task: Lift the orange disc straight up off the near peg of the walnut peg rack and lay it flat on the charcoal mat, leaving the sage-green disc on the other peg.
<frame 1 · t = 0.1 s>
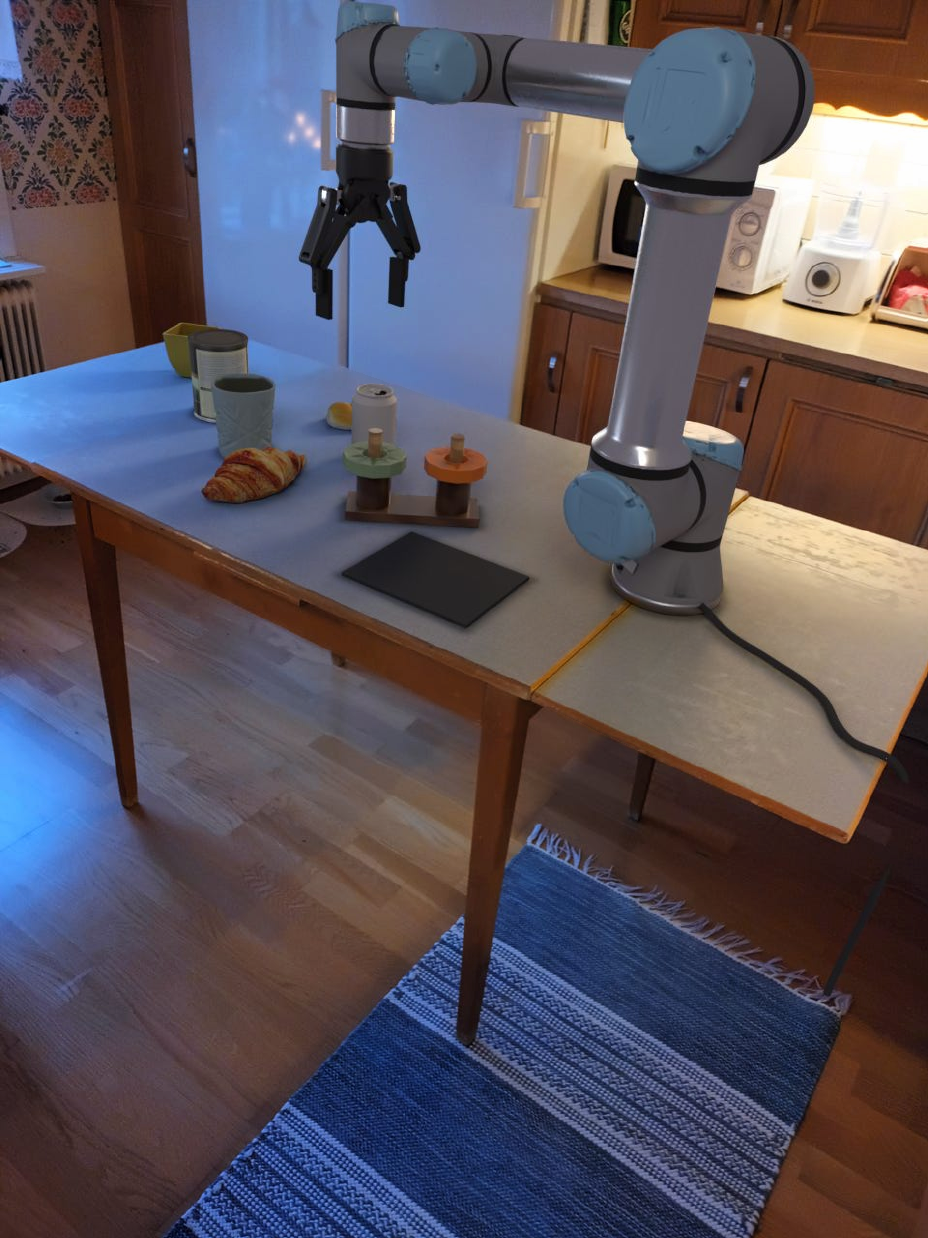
hand: (361, 311, 131), 28 cm above the table, tool pointing down, fingers open, 13 cm apart
flower pot: (195, 375, 186), on the table
peg rack: (412, 513, 141), on the table
coffee can: (222, 414, 169), on the table
croissant: (259, 489, 144), on the table
green disc: (374, 465, 137), point 7 cm above the table, touching peg rack
orange disc: (455, 470, 137), point 7 cm above the table, touching peg rack
bread roll: (350, 424, 171), on the table
can: (372, 457, 158), on the table
mat: (436, 577, 125), on the table
grey embossed cup: (246, 452, 156), on the table
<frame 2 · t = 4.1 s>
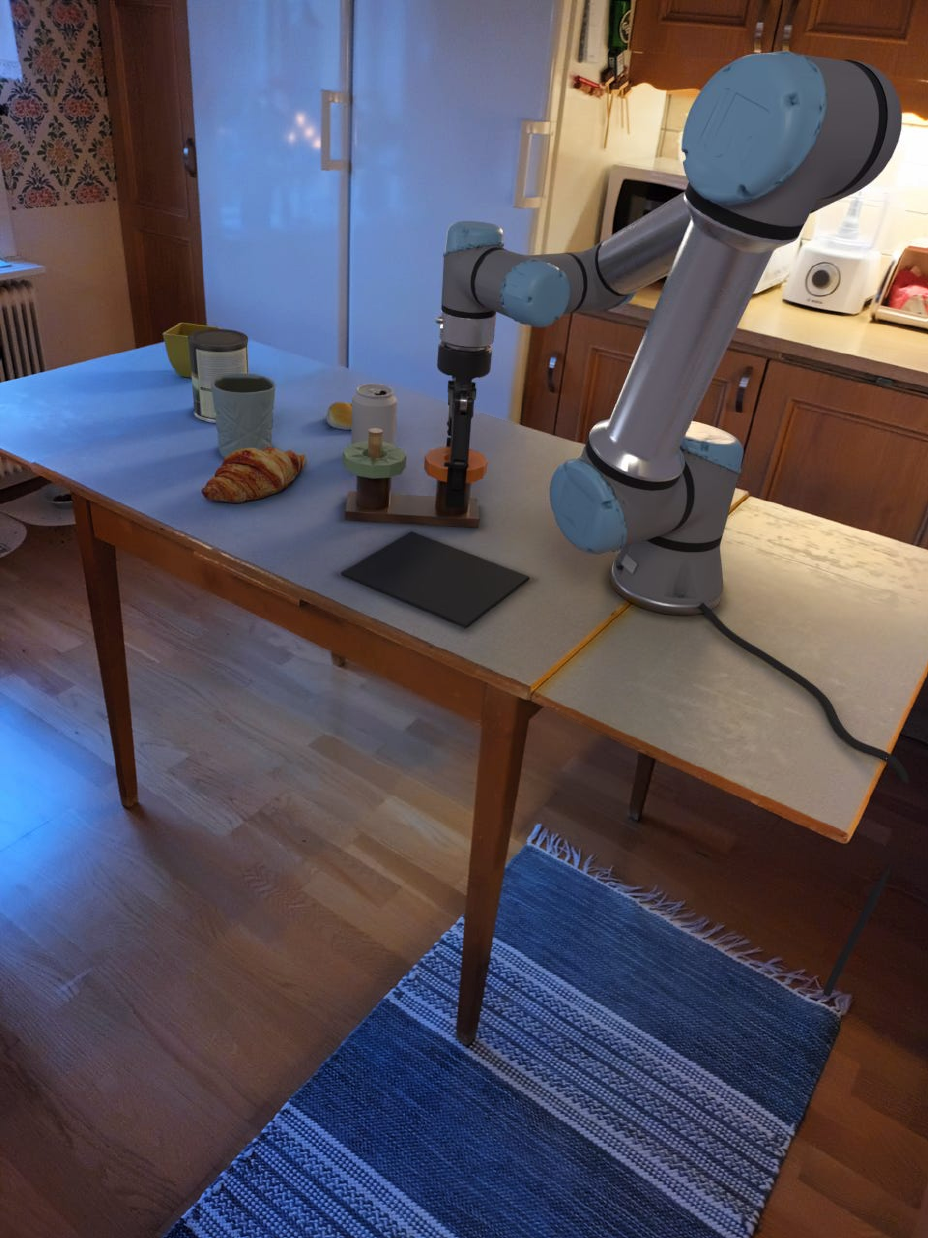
hand: (453, 491, 139), 4 cm above the table, tool pointing down, fingers closed on orange disc, 9 cm apart
orange disc: (455, 470, 137), point 8 cm above the table, touching gripper, peg rack
everything else where it was.
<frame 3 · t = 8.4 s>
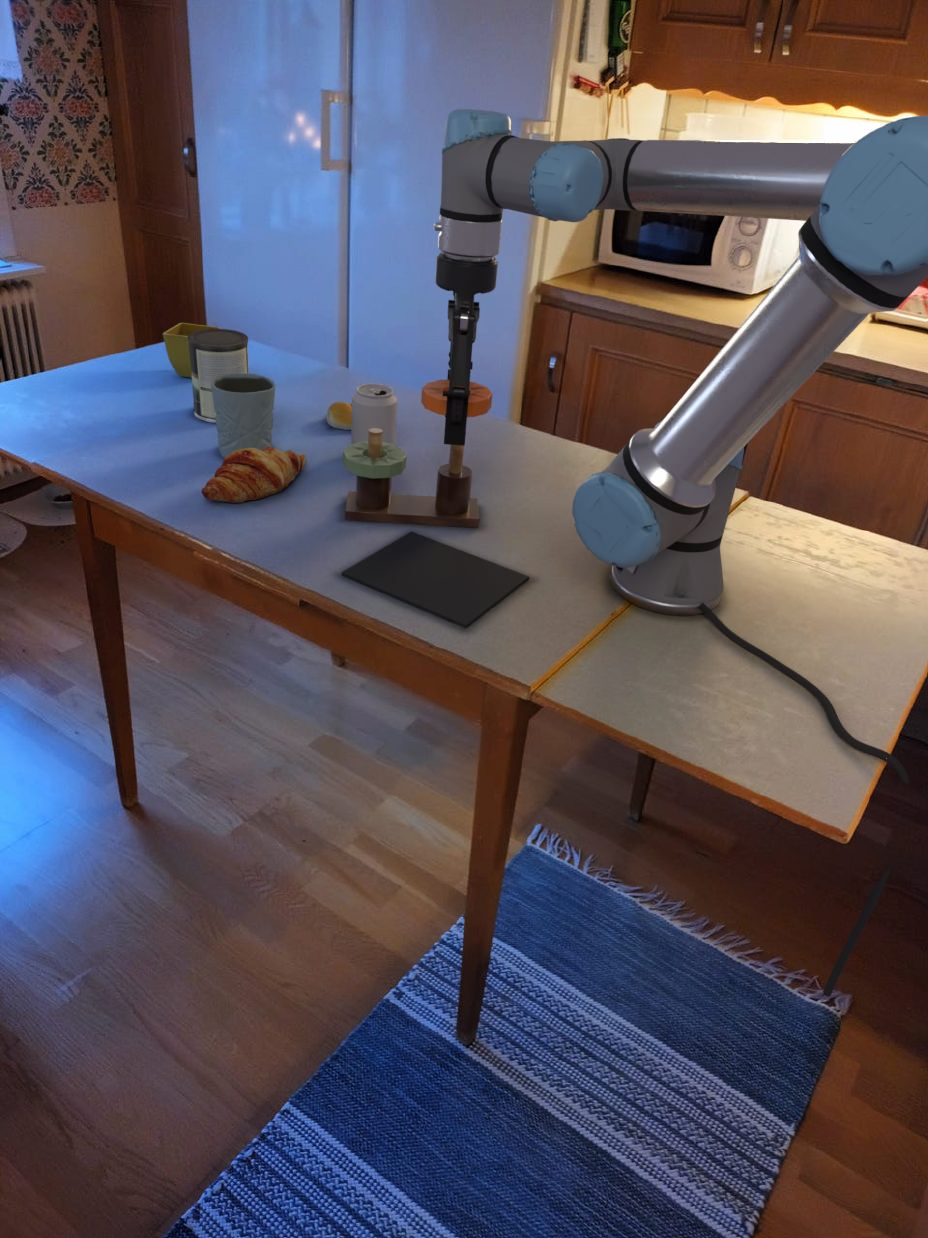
hand: (454, 429, 124), 17 cm above the table, tool pointing down, fingers closed on orange disc, 9 cm apart
orange disc: (456, 405, 122), point 21 cm above the table, touching gripper
everything else where it was.
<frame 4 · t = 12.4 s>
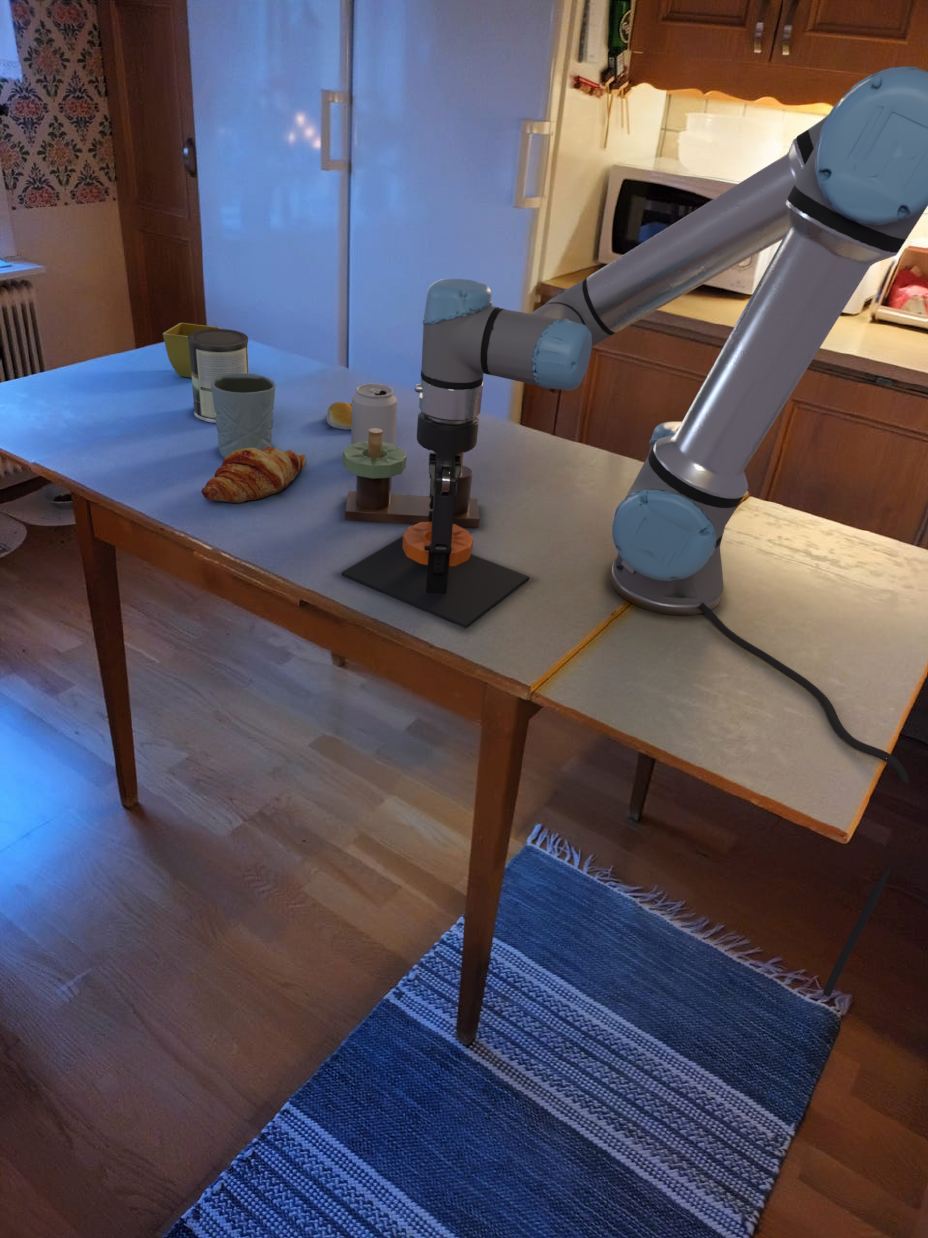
hand: (435, 572, 125), 1 cm above the table, tool pointing down, fingers closed on orange disc, 9 cm apart
orange disc: (437, 550, 123), point 4 cm above the table, touching gripper
everything else where it was.
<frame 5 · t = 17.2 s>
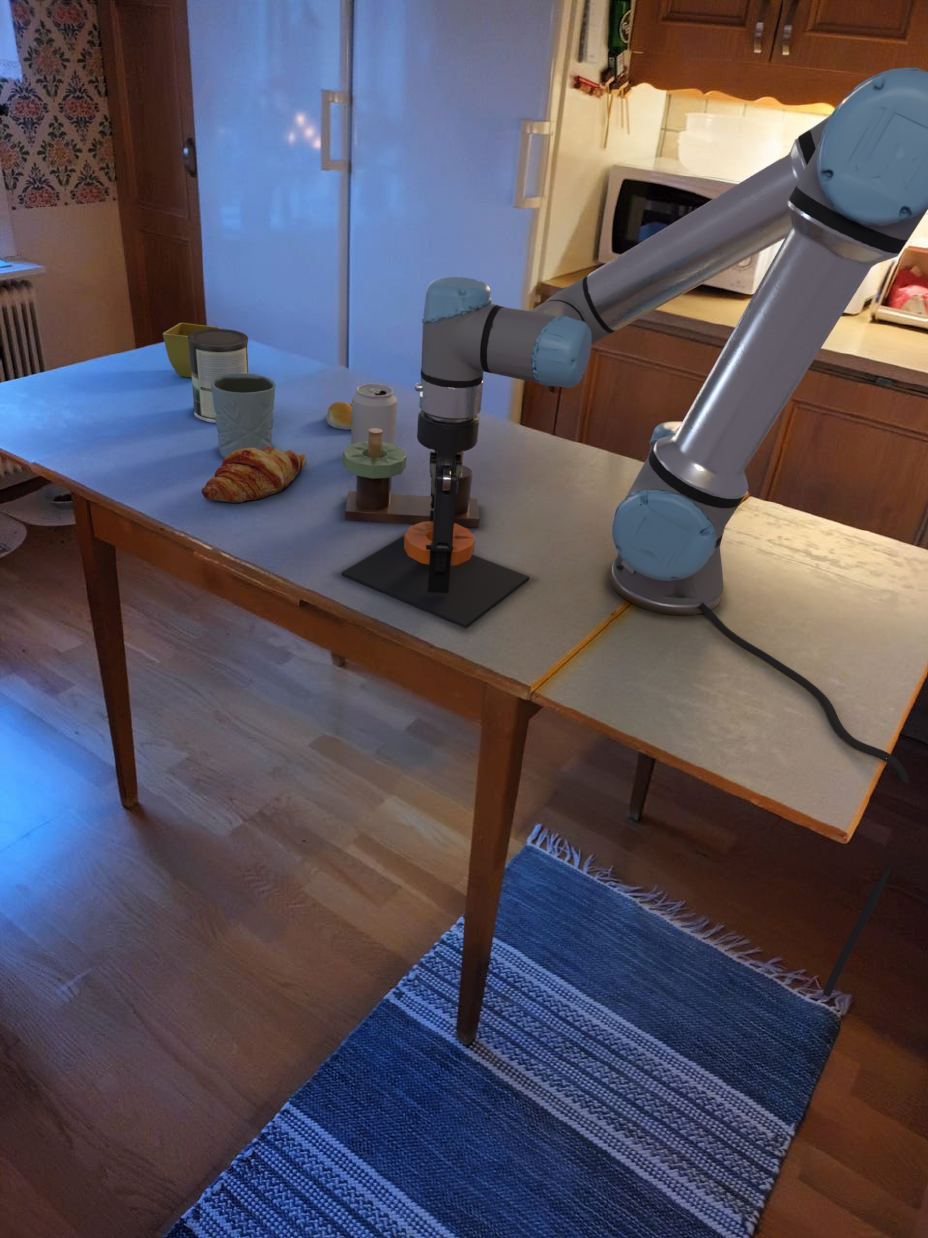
hand: (437, 571, 125), 1 cm above the table, tool pointing down, fingers closed on orange disc, 9 cm apart
orange disc: (438, 549, 123), point 4 cm above the table, touching gripper
everything else where it was.
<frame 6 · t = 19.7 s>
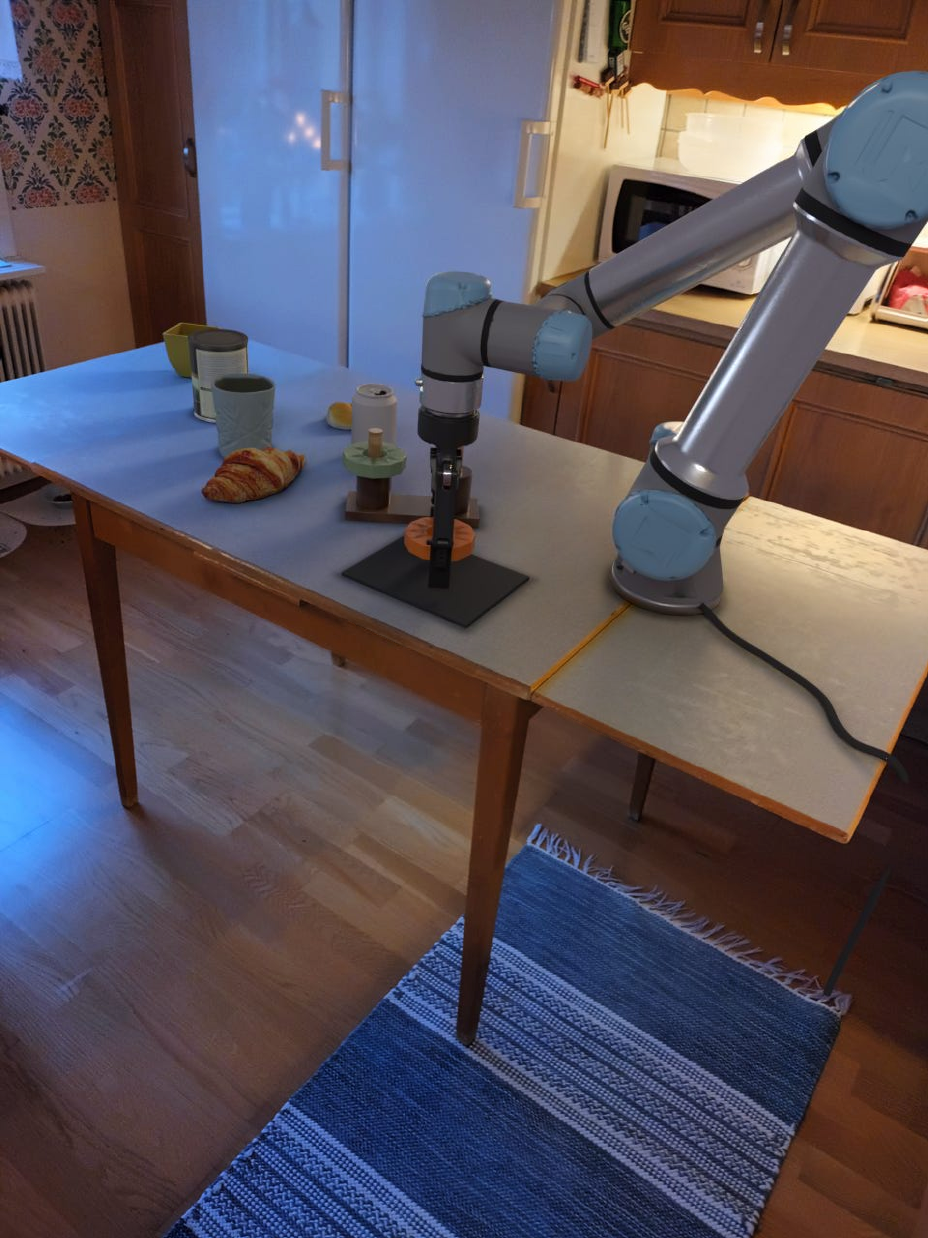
hand: (438, 567, 124), 2 cm above the table, tool pointing down, fingers closed on orange disc, 9 cm apart
orange disc: (439, 545, 122), point 5 cm above the table, touching gripper
everything else where it was.
when the fingers open (2 cm above the table, at t = 22.0 s): orange disc stays where it is, point 1 cm above the table.
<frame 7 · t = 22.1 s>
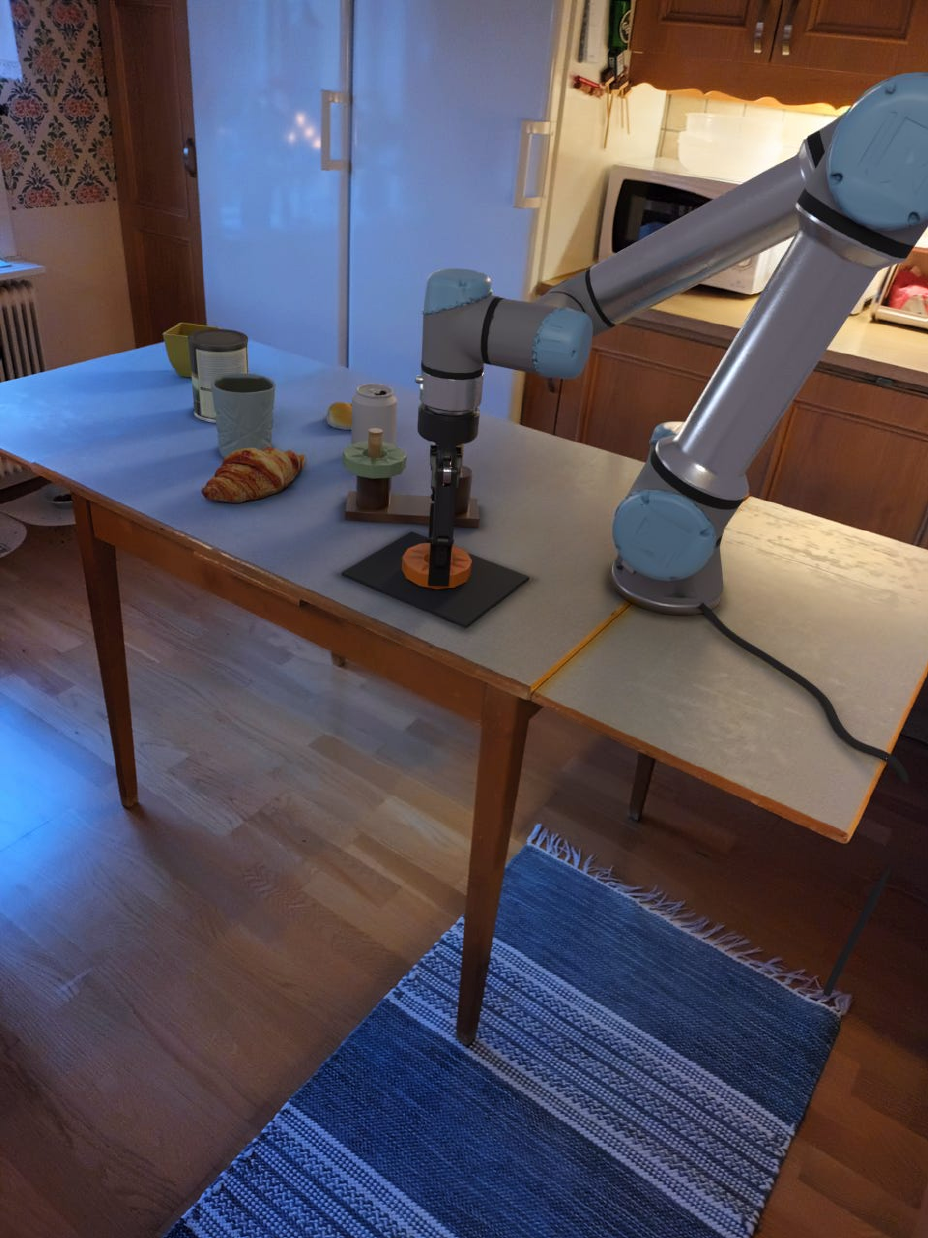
hand: (437, 565, 124), 2 cm above the table, tool pointing down, fingers open, 10 cm apart
orange disc: (436, 571, 125), point 1 cm above the table
everything else where it was.
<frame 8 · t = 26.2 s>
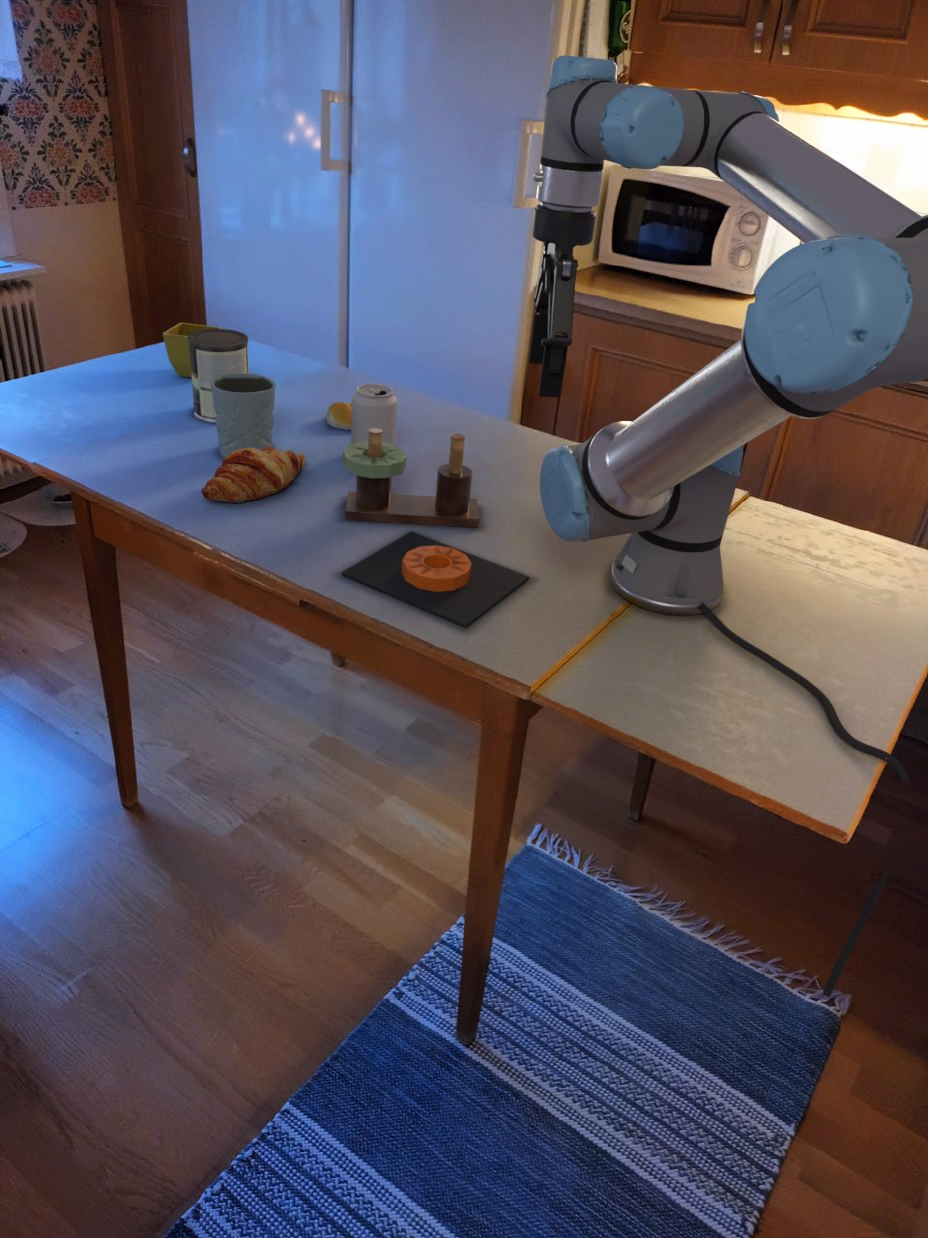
hand: (543, 379, 122), 25 cm above the table, tool pointing down, fingers open, 13 cm apart
orange disc: (436, 574, 125), resting on mat
everything else where it was.
at the end: orange disc inside the target area on the mat (0.1 cm from its centre), point 0.5 cm above the mat's base; orange disc tilted 0°; green disc moved 0.0 cm from its start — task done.
